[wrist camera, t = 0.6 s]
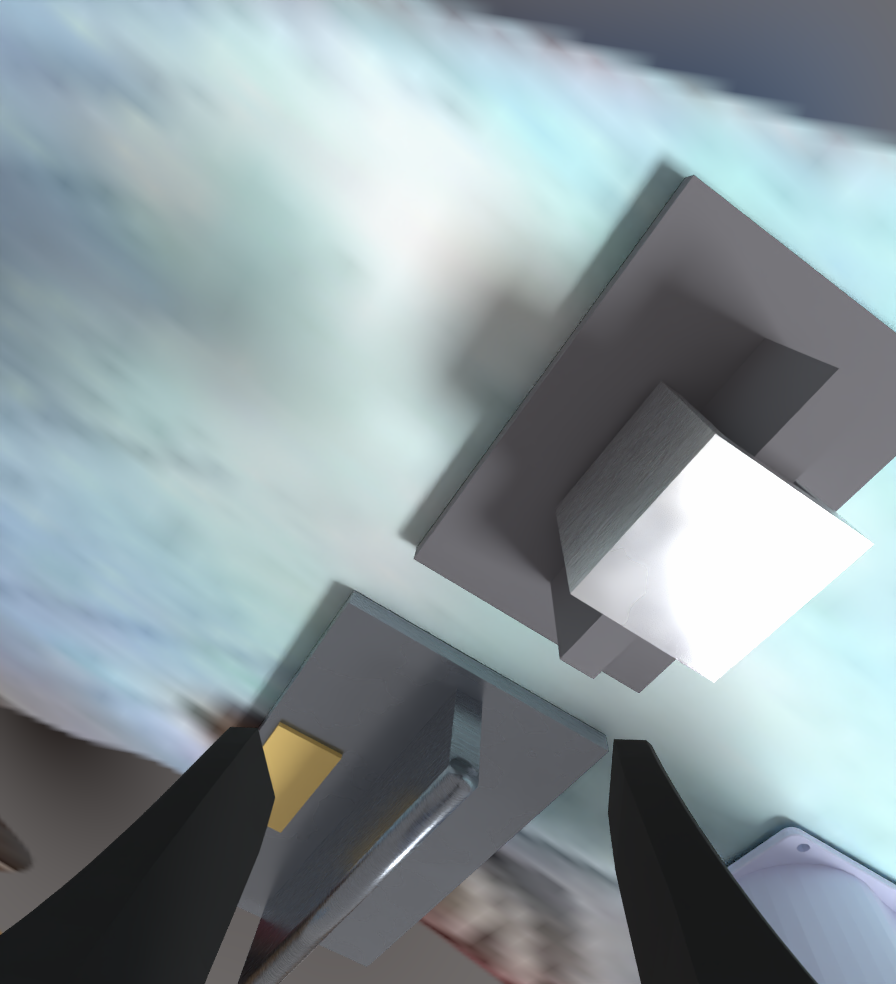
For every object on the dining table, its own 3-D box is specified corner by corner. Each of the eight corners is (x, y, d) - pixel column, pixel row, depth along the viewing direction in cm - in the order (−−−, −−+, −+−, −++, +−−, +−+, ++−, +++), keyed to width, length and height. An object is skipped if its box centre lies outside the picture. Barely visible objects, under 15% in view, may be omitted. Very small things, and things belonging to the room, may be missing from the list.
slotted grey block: (781, 465, 17) (873, 544, 13) (667, 580, 19) (713, 682, 15) (661, 380, 17) (715, 434, 12) (555, 509, 19) (569, 594, 14)
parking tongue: (948, 382, 17) (1098, 433, 13) (634, 678, 23) (665, 785, 18) (685, 177, 16) (754, 156, 11) (416, 547, 21) (393, 630, 17)
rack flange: (605, 735, 24) (628, 853, 19) (370, 950, 32) (347, 1070, 27) (353, 590, 22) (314, 683, 18) (169, 855, 30) (109, 967, 25)
